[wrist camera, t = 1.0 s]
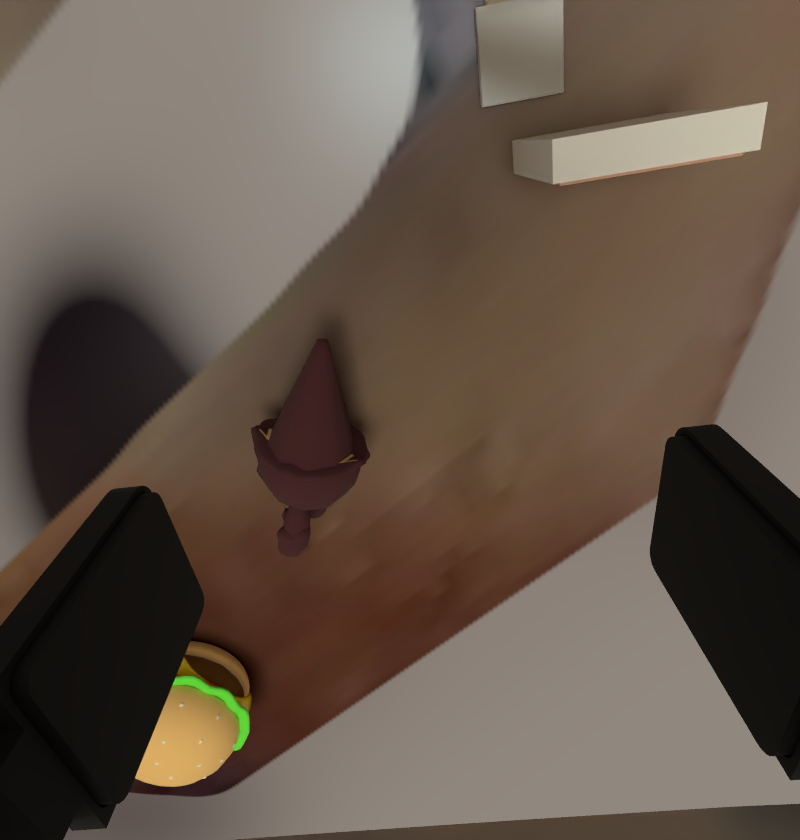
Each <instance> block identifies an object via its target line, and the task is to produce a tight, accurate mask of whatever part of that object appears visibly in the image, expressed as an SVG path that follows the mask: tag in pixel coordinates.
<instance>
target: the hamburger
mask: <svg viewBox="0 0 800 840" xmlns="http://www.w3.org/2000/svg"><path fill="white" fill-rule="evenodd" d="M249 688H250V685H249V679H248V676H247V673H246V671H245V669H244V667H243V666H242V665H241V663H240V662H239V661H238V660H237V659H236V658H235V657H234V656H232V655H231V654H230V653H228V652H226V651H225V650H223V649H221V648H219V647H216V646H213V645H210V644H207V643H203V642H196V641H190V643H189V646H188V648H187V651H186V653H185V656H184V658H183V661H182V663H181V666H180V668H179V670H178V673H177V675H176V678H175V680H174V683H173V685H172V688H171V690H170V693H169V695H168V698H167V700H166V702H165V705H164V707H163V710H162V712H161V715H160V717H159V720H158V722H157V725H156V727H155V729H154V732H153V734H152V737H151V739H150V742H149V744H148V747H147V749H146V752H145V754H144V757H143V759H142V761H141V764H140V766H139V769H138V771H137V774H136V776H135V778H136V779H138V780H141V781H143V782H146V783H149V784H154V785H158V786H171V787H174V786H184V785H188V784H191V783H194V782H196V781H198V780H200V779H204V778H206V776H208V775H210V774H212V773H214V772H215V771H216V770H218V769H219V767H220V766H221V765H222V764H223V763H224V762H225V761H226V759H227V758H228V757H229V756H230V755H231V753H232V751H236V750H239V749H240V748H241V747H242V745H243V744H244V742H245V740H246V739H247V736H248V734H249V732H250V720H249V713H248V712H249V710H250V706H251V699H252V696H251V693H249Z"/></svg>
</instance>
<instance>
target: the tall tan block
mask: <svg viewBox="0 0 800 840" xmlns="http://www.w3.org/2000/svg"><path fill="white" fill-rule="evenodd" d="M484 5H485V6H480V7H476V8H475V10H474V15H475V30H476V44H477V58H478V72H479V87H480V101H481V108H483V107H489V106H494V105H500V104H505V103H511V102H516V101H522V100H527V99H533V98H538V97H544V96H549V95H555V94H560V93H564V59H563V0H484Z"/></svg>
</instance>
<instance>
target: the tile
mask: <svg viewBox="0 0 800 840" xmlns="http://www.w3.org/2000/svg"><path fill="white" fill-rule="evenodd" d="M767 103H768V102H761V103H752V104H743V105H734V106H725V107H716V108H707V109H698V110H689V111H680V112H670V113H664V114H659V115H653V116H647V117H642V118H636V119H630V120H625V121H619V122H613V123H607V124H602V125H596V126H590V127H585V128H579V129H573V130H568V131H562V132H556V133H551V134H545V135H539V136H534V137H528V138H522V139H517V140H512V145H513V167H514V174H517V175H520V176H524V177H528V178H531V179H535V180H538V181H542V182H546V183H549V184H555V185H558V186H563V185H569V184H575V183H581V182H587V181H593V180H599V179H605V178H611V177H617V176H623V175H629V174H635V173H641V172H647V171H653V170H659V169H665V168H670V167H676V166H682V165H688V164H694V163H700V162H706V161H712V160H718V159H724V158H730V157H736V156H742V155H743V152H748V151H754V150H760V148H761V141H762V135H763V129H764V122H765V116H766V109H767Z"/></svg>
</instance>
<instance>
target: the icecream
mask: <svg viewBox="0 0 800 840" xmlns="http://www.w3.org/2000/svg"><path fill="white" fill-rule="evenodd" d="M251 433H252V438H253V442H254V449H255V454H256V457H257V458H258V467H257V472H258V474H259V475H260V477H261V478H262V480H263V481H264V482H265V484H266V485H267V487H268V488H269V489H270V491H271V492H272V493H273V495H274V496H275V497H276V499H277V500H278V501H279V502H281V503H284V504H286V505H289V508H285V510H284V512H283V514H282V517H283V519H284V525H283V527H282V528H281V529H280V530H279V531H278V532H277V537H278V547H279V551H280V553H281V554H282V555H285V556H287V557H292V556H297V555H298V554H300V553H301V552H302V551H303V550H304V549H305V548H306V547H307V545H308V541H309V537H310V518H318V517H320V516H321V515H322V514H323V513H324V512H325V511H326V508H327V507H328V506H330V505H332V504H333V503H334V502H335V501H337V500H338V499H339V498H341V497H342V496H343V495H344V494H346V493H347V492H348V491H349V490H350V488H351V487H352V486H353V485H354V484H355V482H356V479H357V477H358V474H359V471H360V467H361V466H362V465H364V464H365V463H366V460H367V459H368V458H369V457H370V453H369V451H368V450H367V447H366V442H365V437H364V435H363V434H362V432H361V431H360V430H358V429H357V428H355V427H353V426H351V425H349V421H348V417H347V413H346V409H345V406H344V402H343V398H342V394H341V390H340V386H339V383H338V379H337V375H336V371H335V367H334V363H333V358H332V354H331V350H330V347H329V343H328V341H327V340H326V339H318V340H317V342H316V344H315V346H314V347H313V349H312V351H311V353H310V355H309V357H308V359H307V361H306V363H305V365H304V367H303V369H302V371H301V373H300V375H299V377H298V379H297V381H296V383H295V385H294V387H293V389H292V391H291V393H290V395H289V397H288V399H287V401H286V403H285V405H284V407H283V409H282V411H281V413H280V415H279V416H278V418H275V419H267V420H265V421H263V422H262V423H261V424H260V425H257V426H255V427H253V428H251Z"/></svg>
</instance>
